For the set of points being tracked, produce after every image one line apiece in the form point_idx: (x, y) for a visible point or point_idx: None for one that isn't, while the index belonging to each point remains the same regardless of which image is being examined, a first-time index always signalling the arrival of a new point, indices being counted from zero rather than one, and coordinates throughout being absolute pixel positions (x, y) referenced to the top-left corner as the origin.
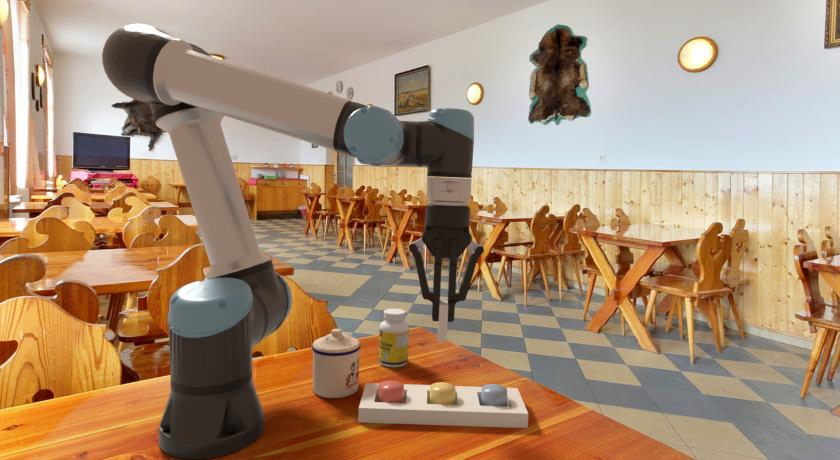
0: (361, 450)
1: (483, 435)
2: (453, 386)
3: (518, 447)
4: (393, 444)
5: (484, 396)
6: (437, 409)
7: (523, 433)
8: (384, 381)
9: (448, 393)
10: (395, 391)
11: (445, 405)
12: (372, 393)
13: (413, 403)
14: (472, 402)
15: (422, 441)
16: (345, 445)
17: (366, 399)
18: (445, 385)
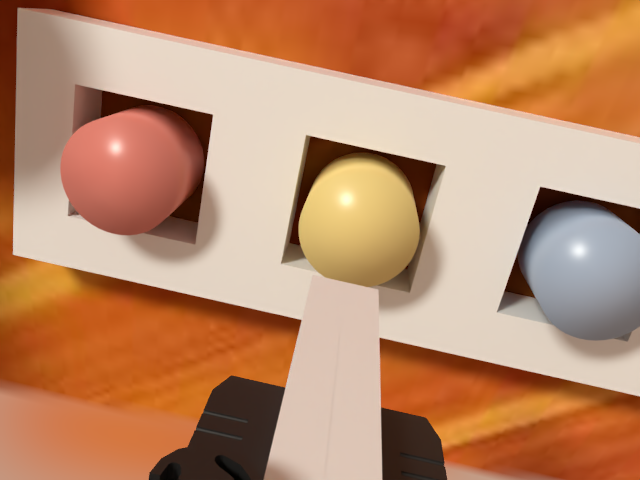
0: (68, 391)
1: (456, 381)
2: (413, 230)
3: (537, 458)
4: (160, 378)
5: (535, 295)
6: None
7: (601, 393)
8: (86, 125)
9: (370, 285)
10: (137, 232)
11: None
12: (56, 135)
13: (226, 253)
14: (476, 280)
15: (249, 379)
16: (20, 359)
17: (35, 189)
18: (377, 214)
